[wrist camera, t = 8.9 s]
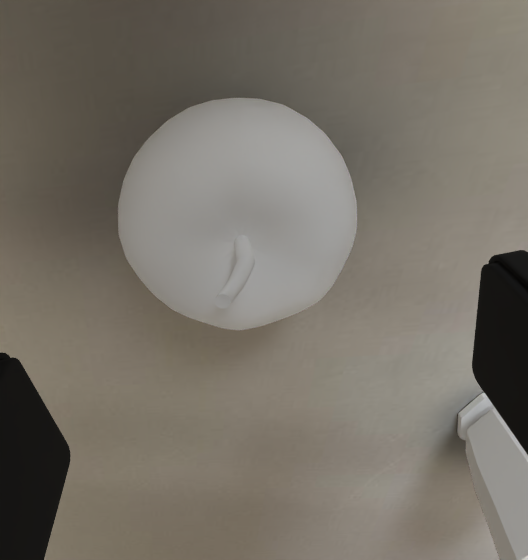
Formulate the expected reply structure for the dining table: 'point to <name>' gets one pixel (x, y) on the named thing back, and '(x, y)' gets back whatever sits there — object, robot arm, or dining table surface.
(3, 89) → the dining table surface
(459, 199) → the dining table surface
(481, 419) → the cup
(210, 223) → the plain white apple
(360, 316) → the dining table surface
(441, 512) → the dining table surface
